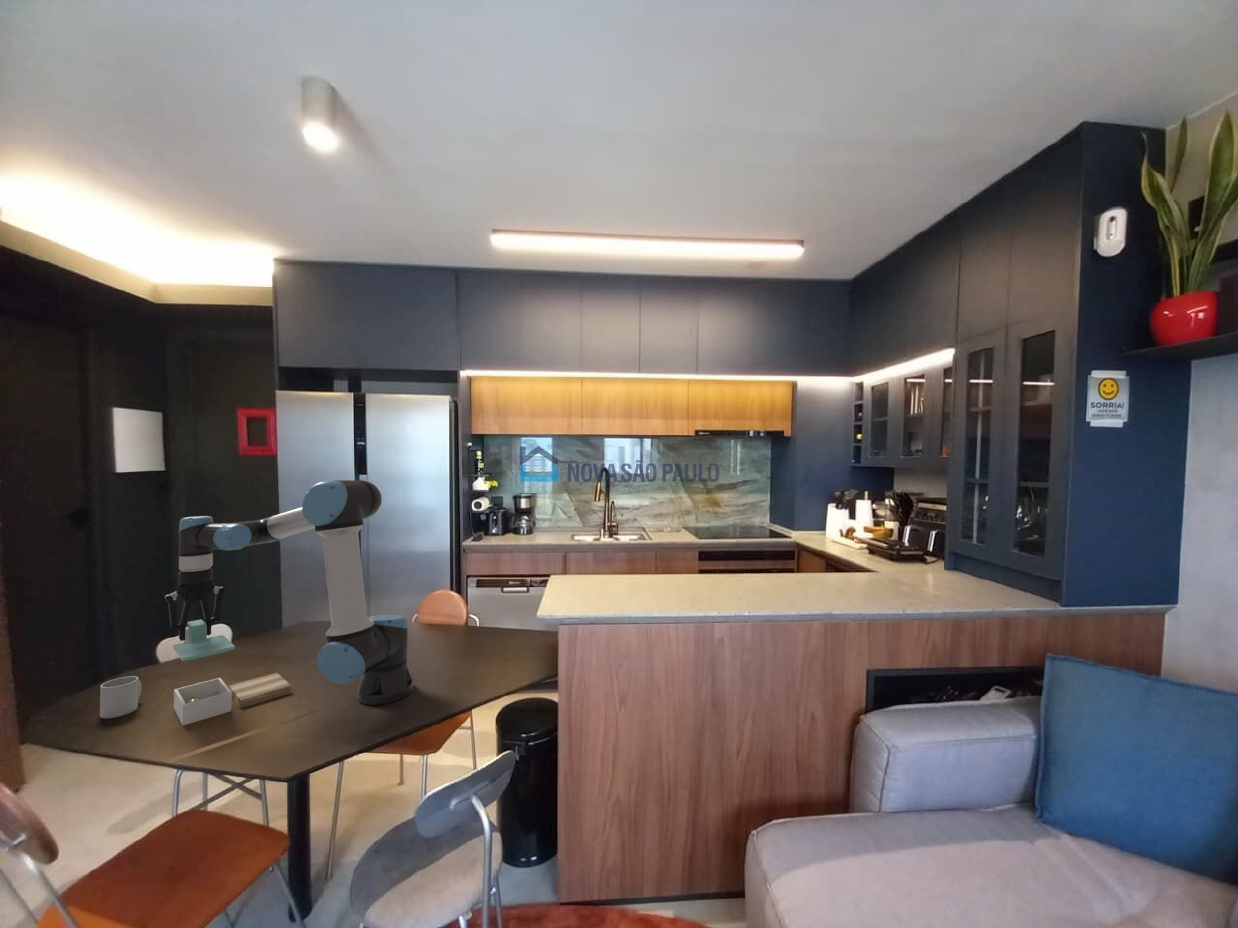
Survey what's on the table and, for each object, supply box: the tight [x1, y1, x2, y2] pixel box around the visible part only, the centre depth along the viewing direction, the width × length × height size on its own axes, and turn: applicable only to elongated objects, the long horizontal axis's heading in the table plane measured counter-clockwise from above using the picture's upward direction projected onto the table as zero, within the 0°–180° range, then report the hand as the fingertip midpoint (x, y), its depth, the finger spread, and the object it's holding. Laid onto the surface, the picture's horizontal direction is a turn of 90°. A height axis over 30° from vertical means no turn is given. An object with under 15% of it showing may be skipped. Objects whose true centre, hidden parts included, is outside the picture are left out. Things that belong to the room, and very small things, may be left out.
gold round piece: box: [187, 697, 200, 703], centre depth 133 cm, size 3×3×2 cm
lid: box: [172, 619, 236, 662], centre depth 134 cm, size 21×11×6 cm, turn 50°
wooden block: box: [228, 672, 292, 709], centre depth 142 cm, size 14×12×3 cm
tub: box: [173, 677, 233, 726], centre depth 132 cm, size 14×10×6 cm
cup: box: [99, 675, 142, 719], centre depth 132 cm, size 7×10×9 cm
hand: (195, 648), depth 140 cm, fingers closed on lid, 3 cm apart
